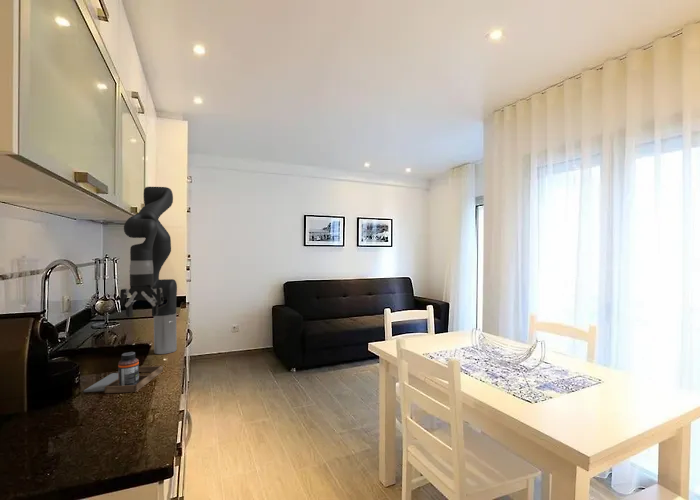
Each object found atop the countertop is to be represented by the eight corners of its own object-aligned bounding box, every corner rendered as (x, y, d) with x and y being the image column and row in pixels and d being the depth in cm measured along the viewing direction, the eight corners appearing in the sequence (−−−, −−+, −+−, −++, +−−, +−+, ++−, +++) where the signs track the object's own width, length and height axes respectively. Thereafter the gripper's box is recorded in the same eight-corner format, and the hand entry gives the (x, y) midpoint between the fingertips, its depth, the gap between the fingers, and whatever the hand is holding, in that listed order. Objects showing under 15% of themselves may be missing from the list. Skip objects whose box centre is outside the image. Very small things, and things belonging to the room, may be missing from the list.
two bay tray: (136, 372, 133) (135, 366, 133) (162, 371, 134) (162, 365, 134) (104, 393, 114) (104, 387, 114) (136, 391, 114) (136, 385, 114)
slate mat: (112, 374, 131) (112, 373, 131) (129, 374, 131) (129, 372, 131) (83, 392, 115) (83, 390, 115) (103, 391, 115) (103, 389, 115)
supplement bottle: (120, 385, 121) (119, 352, 121) (140, 382, 123) (139, 350, 123) (116, 391, 115) (116, 357, 115) (137, 388, 118) (137, 354, 118)
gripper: (166, 271, 133) (166, 314, 133) (126, 272, 132) (127, 315, 132) (157, 273, 126) (157, 318, 126) (115, 273, 124) (115, 319, 124)
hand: (142, 316), depth 129 cm, fingers open, 8 cm apart
